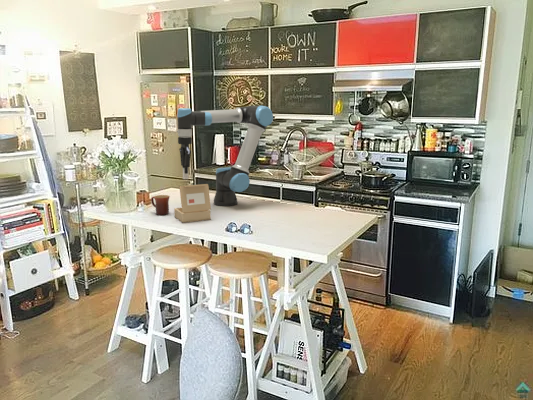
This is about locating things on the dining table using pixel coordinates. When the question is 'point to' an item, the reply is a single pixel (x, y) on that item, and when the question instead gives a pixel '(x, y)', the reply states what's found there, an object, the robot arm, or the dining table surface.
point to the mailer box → (192, 215)
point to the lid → (195, 198)
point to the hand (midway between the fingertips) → (185, 178)
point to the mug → (161, 204)
